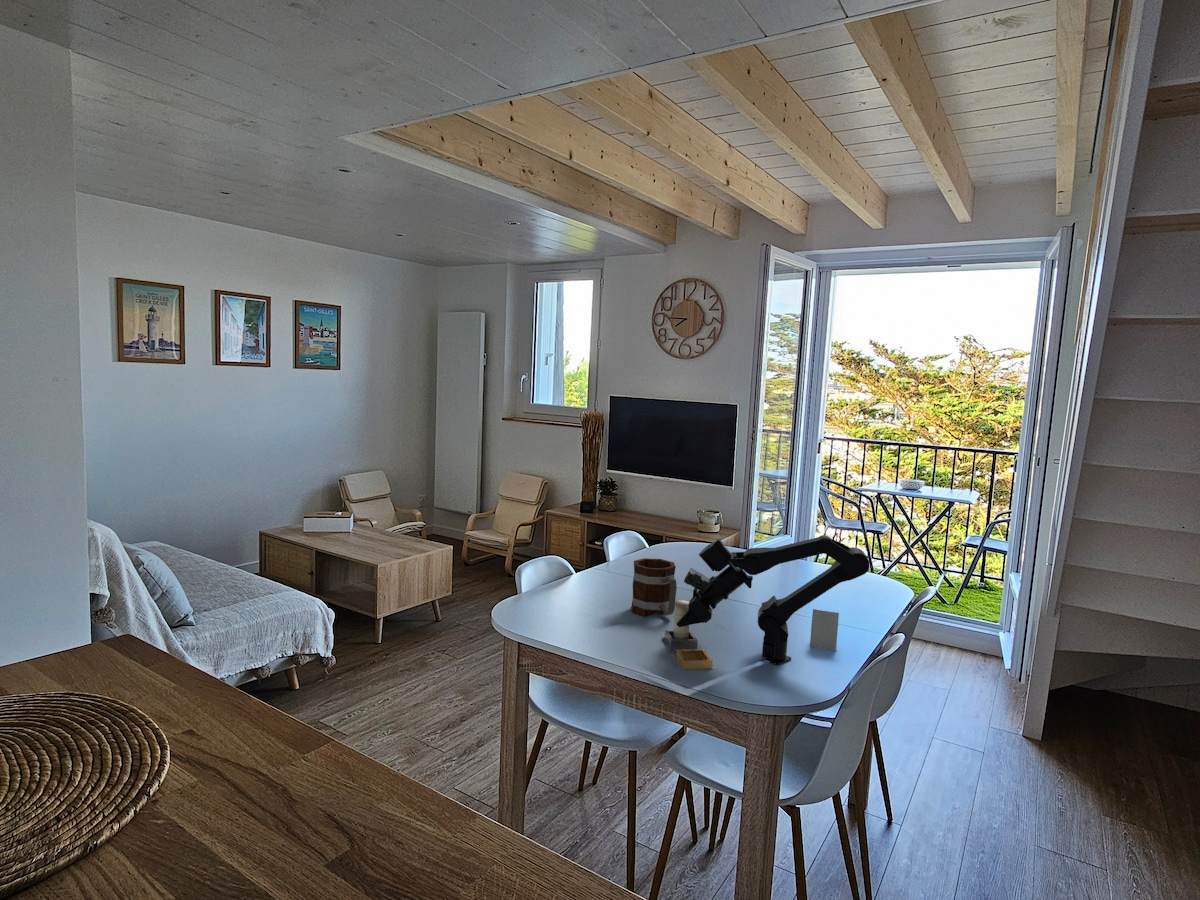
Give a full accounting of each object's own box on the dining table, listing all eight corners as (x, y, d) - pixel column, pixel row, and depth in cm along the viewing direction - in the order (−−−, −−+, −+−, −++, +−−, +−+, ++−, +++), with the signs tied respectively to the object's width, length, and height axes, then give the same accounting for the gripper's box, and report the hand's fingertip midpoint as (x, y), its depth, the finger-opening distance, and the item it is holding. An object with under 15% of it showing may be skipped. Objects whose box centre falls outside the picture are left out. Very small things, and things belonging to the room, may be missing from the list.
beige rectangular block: (835, 650, 188) (838, 615, 187) (809, 646, 191) (812, 611, 190) (836, 646, 192) (839, 610, 191) (810, 641, 194) (813, 607, 193)
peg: (680, 638, 189) (682, 599, 188) (691, 643, 186) (693, 603, 185) (670, 641, 186) (672, 602, 185) (681, 646, 183) (683, 606, 182)
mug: (622, 606, 218) (625, 559, 216) (660, 602, 223) (663, 556, 222) (651, 627, 200) (654, 576, 198) (692, 623, 205) (695, 573, 204)
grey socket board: (660, 641, 189) (661, 630, 189) (692, 641, 190) (693, 630, 190) (679, 674, 168) (680, 661, 168) (715, 673, 170) (716, 660, 169)
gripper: (706, 552, 192) (664, 587, 195) (700, 569, 174) (654, 607, 177) (733, 583, 191) (690, 617, 194) (730, 604, 173) (683, 641, 176)
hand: (679, 619), depth 185 cm, fingers open, 9 cm apart
